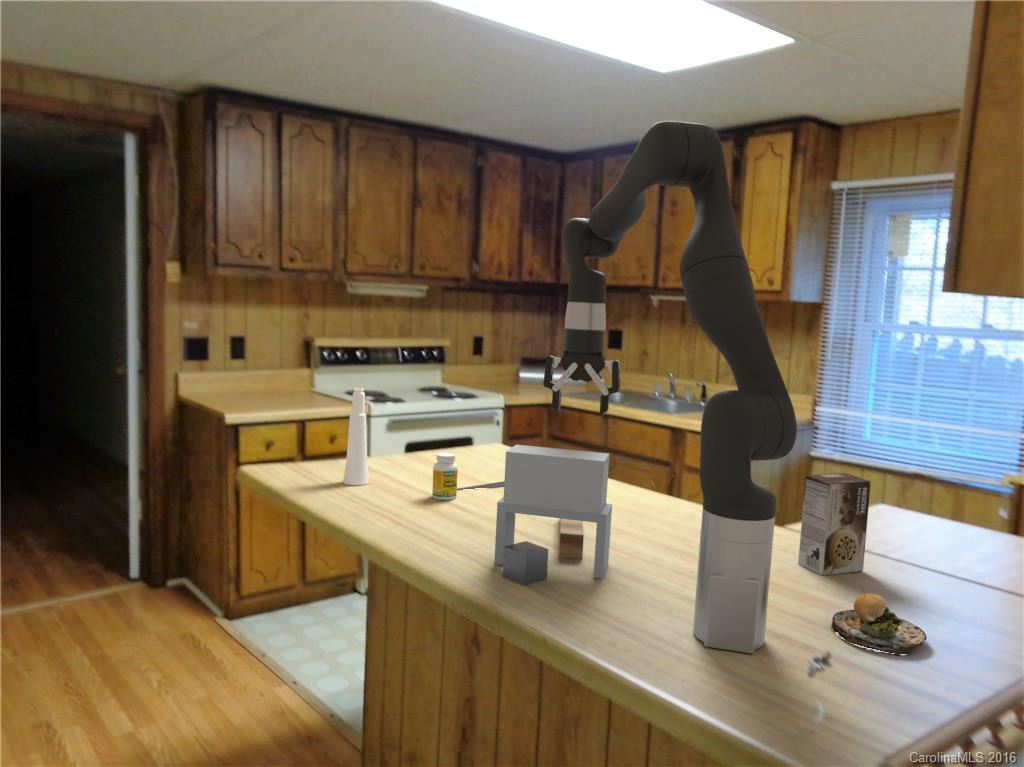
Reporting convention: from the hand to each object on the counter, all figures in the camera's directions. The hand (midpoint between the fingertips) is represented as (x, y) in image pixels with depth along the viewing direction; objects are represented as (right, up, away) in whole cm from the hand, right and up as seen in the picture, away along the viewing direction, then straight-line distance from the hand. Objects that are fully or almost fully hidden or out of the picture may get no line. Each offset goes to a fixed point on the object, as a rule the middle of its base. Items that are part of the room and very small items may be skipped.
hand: (579, 412), depth 147 cm
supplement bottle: (-28, -20, +23) cm, 41 cm away
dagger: (-15, -19, +38) cm, 45 cm away
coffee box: (+43, -27, -12) cm, 52 cm away
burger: (+37, -30, -40) cm, 62 cm away
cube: (-11, -25, -24) cm, 37 cm away
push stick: (-2, -24, -1) cm, 24 cm away
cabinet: (-6, -25, -17) cm, 31 cm away
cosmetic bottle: (-49, -18, +33) cm, 62 cm away
